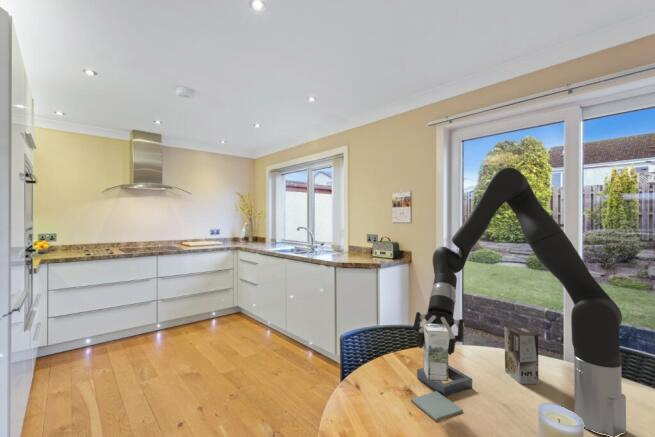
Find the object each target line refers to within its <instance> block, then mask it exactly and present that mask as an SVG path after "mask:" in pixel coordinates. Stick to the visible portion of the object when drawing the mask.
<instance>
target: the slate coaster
mask: <svg viewBox="0 0 655 437" xmlns="http://www.w3.org/2000/svg"><path fill="white" fill-rule="evenodd" d="M410 402H412V404H414V405H415V406H417V408H419V409H420V410H421V411H422V412H423V413H425V414H426V415H427V416H429V417H430V419H432V420H433V421H435V422H437V421H441V420H444V419H446V418H449V417H452V416H454V415H457V414H458V415H459V414H461V413H463V412H464V409H462V408H461V407H460V406H458V405H457V404H456V403H454V402H453V401H451V400H450V399H449V398H447V396H446V397H444V396H443V395H441V394H440V393H439V392H437V391H435V390H434V391H432V392H429V393H426V394H422V395H419V396H417V397H416V396H415V397H413V398H410Z"/></svg>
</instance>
